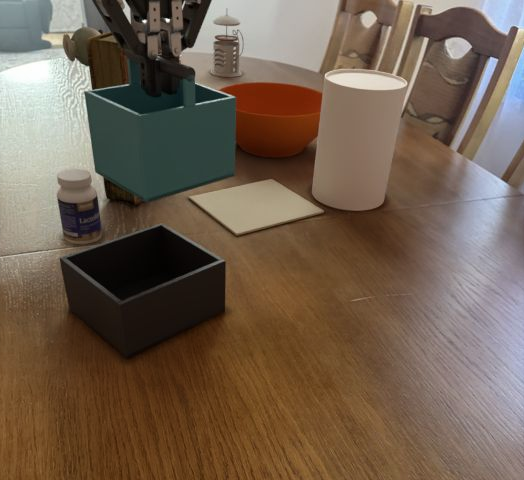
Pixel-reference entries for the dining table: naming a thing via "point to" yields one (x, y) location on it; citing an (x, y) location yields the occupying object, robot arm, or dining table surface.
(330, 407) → the dining table surface
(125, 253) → the charcoal bin
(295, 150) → the bowl
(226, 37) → the french press
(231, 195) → the cream mat
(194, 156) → the teal bin
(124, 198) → the book
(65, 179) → the pill bottle
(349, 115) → the canister
